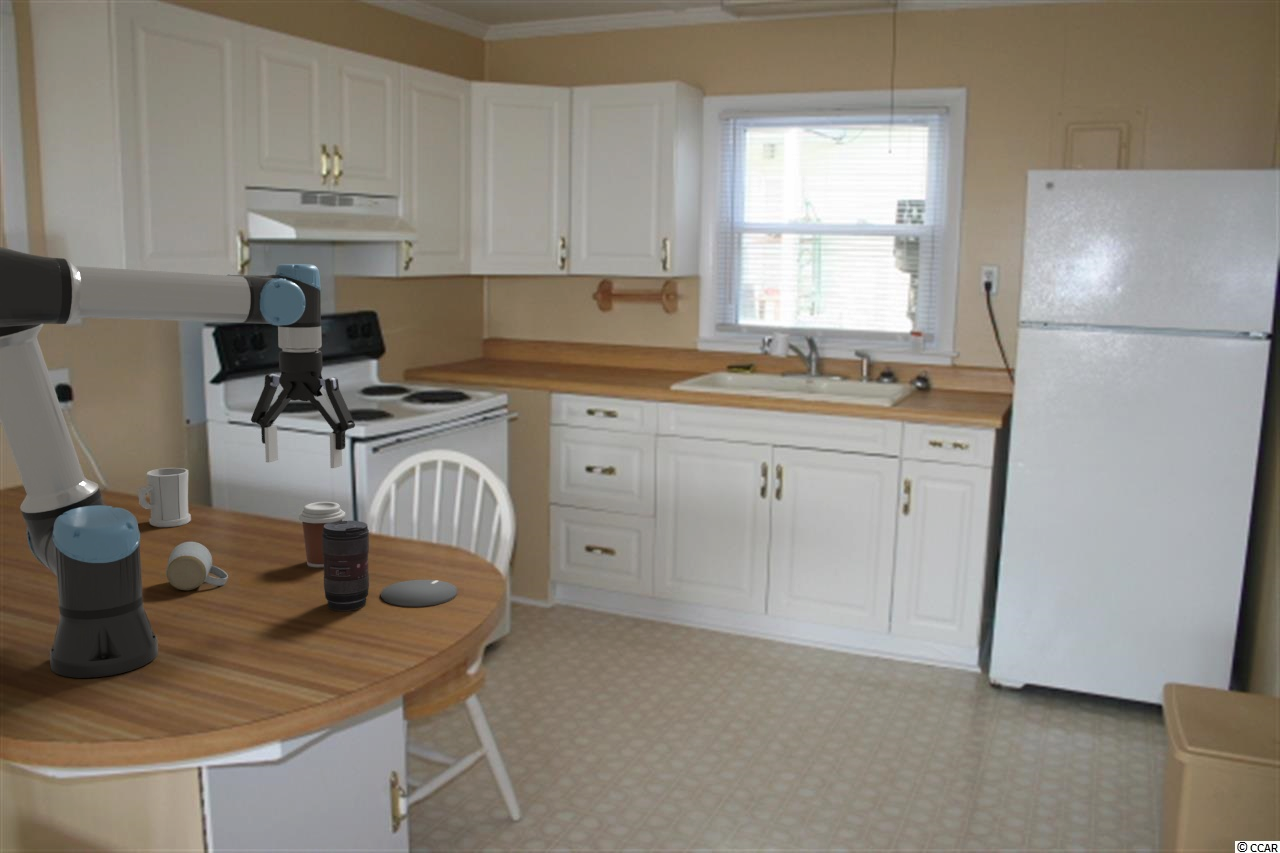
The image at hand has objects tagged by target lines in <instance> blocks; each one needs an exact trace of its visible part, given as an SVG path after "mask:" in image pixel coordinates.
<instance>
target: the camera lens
mask: <svg viewBox="0 0 1280 853" xmlns="http://www.w3.org/2000/svg"><path fill="white" fill-rule="evenodd" d="M369 535H370V531H369V529H368V524H367V523H366V522H365V521H359V520H342V521H337V522H331V523H328V524H325V525H324V528H323V532H322V544H323V555H324V567H323V588H324V589H323V590H324V597H325V599H326V601H327V607H328V608H329V609H331V610H333V611H339V612H344V611H346V612H348V611H354V610H358V609H361V608H363V607H365V606H366V604H367V597H368V596H369V588H370V574H369V553H370V536H369Z"/></svg>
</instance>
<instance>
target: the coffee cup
mask: <svg viewBox="0 0 1280 853" xmlns="http://www.w3.org/2000/svg"><path fill="white" fill-rule="evenodd" d="M303 506H304V507H303V510H302V511H301V512H300V513H299V514H298V520H299V522H302V532H303V539H304V540H303V541H304V547H305V555H306V564H307V566H308V567H312V568H324V555H323V544H322V532H323V528H324V525H325V524H328V523H331V522H337V521H343V519H345V518H346V512H345V511H344V510H342V509H341V505H340V504H339V503H337V502H333V501H317V502H312V503H307V504H305V505H303Z"/></svg>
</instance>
